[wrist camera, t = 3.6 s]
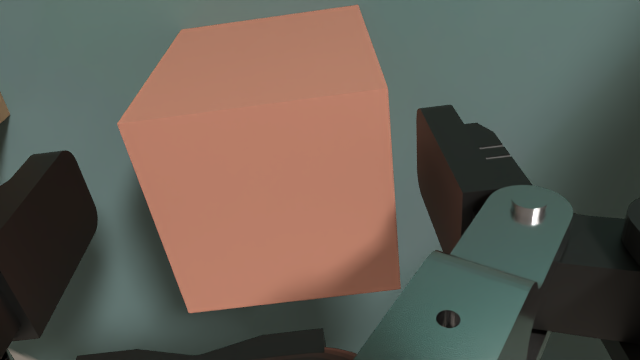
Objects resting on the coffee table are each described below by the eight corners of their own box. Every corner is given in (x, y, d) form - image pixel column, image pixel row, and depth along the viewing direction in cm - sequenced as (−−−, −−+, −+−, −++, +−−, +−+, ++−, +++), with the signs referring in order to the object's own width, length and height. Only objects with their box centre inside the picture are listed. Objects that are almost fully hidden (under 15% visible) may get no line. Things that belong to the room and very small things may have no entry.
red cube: (357, 4, 14) (387, 87, 9) (371, 159, 17) (400, 289, 12) (181, 29, 15) (117, 124, 10) (222, 177, 17) (188, 312, 12)
